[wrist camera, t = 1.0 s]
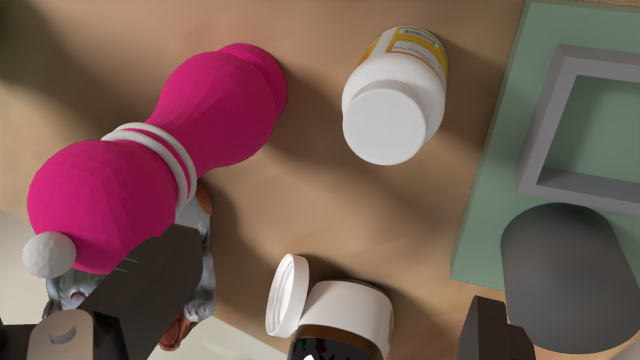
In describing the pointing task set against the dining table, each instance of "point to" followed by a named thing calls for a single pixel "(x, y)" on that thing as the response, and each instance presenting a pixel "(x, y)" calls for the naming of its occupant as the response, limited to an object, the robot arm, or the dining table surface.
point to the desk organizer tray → (562, 180)
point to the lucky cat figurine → (200, 305)
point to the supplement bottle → (395, 96)
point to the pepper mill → (151, 162)
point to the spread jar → (328, 315)
